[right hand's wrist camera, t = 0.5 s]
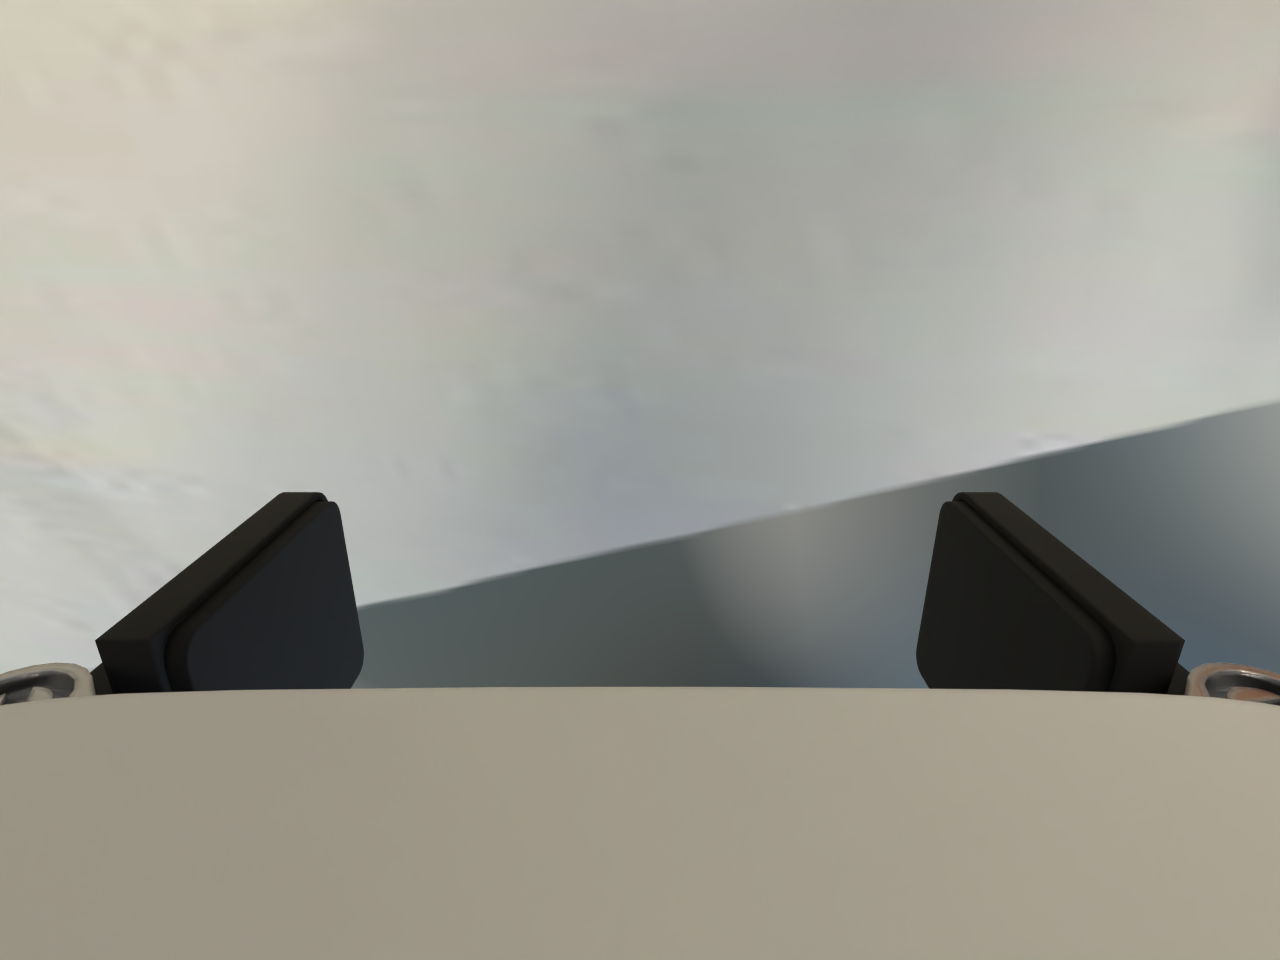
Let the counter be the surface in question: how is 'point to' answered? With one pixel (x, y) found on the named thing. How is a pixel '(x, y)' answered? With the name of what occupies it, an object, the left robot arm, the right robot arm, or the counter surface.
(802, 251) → the counter surface
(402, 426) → the counter surface
